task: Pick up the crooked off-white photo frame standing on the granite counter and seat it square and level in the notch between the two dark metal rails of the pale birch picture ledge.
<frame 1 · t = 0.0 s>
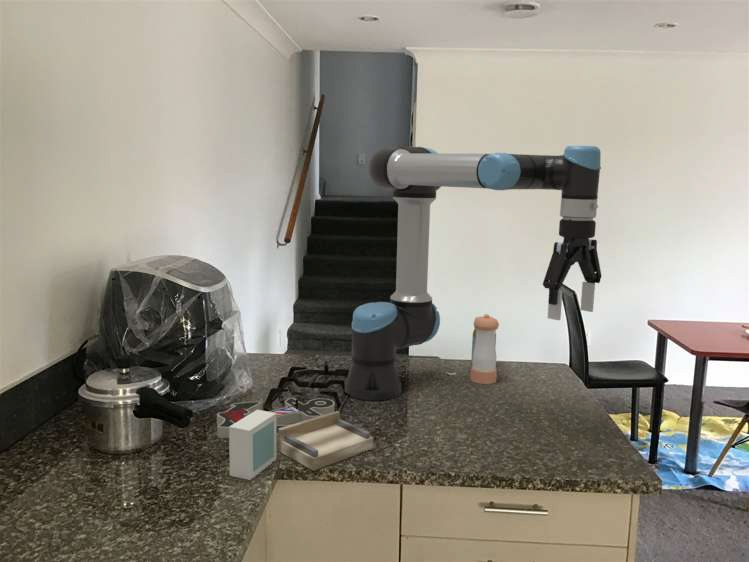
hand: (570, 315, 147), 28 cm above the worktop, fingers open, 13 cm apart
salt shaker: (483, 380, 190), on the worktop
decorative sign: (278, 425, 155), on the worktop
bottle: (482, 367, 202), on the worktop
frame: (253, 467, 132), on the worktop
ledge: (326, 450, 141), on the worktop
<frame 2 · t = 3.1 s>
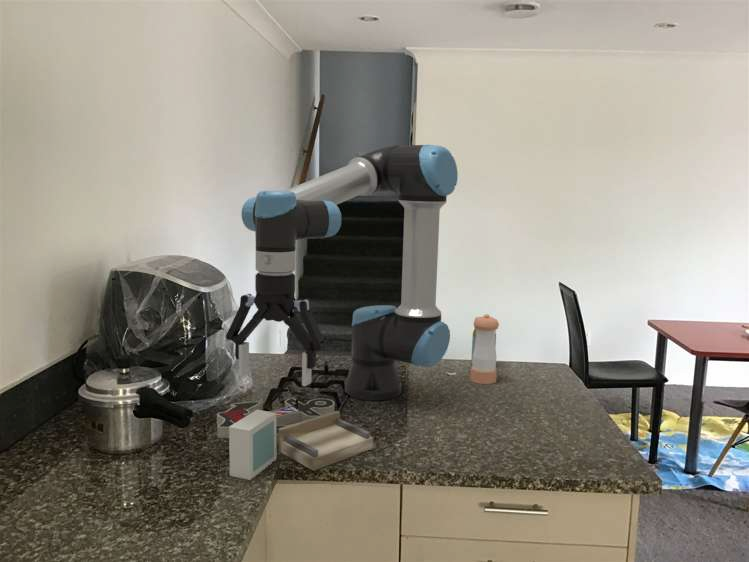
hand: (274, 379, 130), 18 cm above the worktop, fingers open, 13 cm apart
nothing on the worktop moved.
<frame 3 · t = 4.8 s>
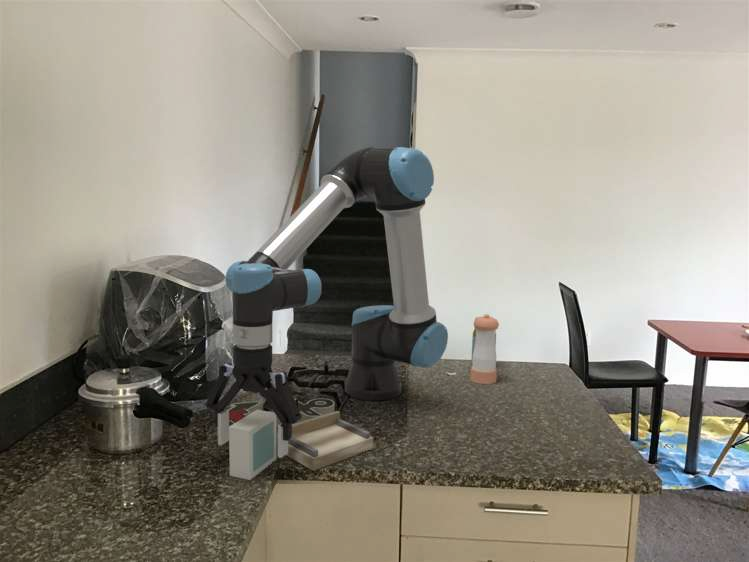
hand: (252, 448, 131), 4 cm above the worktop, fingers open, 13 cm apart
nothing on the worktop moved.
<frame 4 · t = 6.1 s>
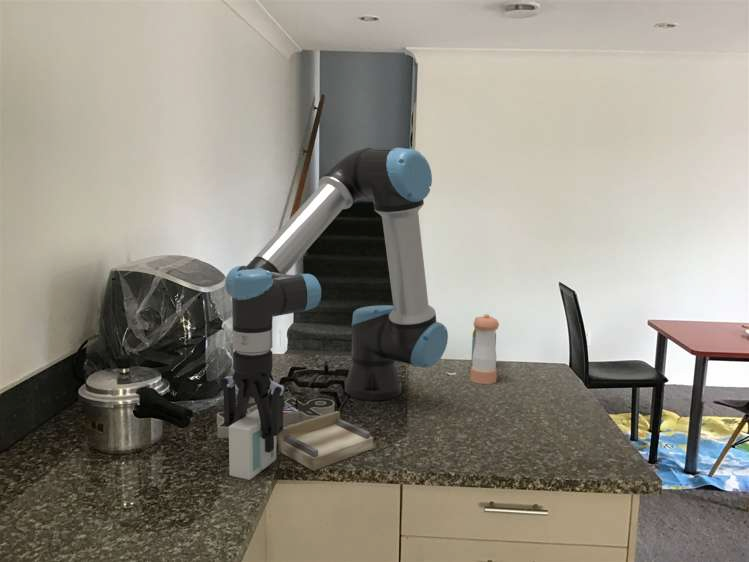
hand: (253, 463, 132), 1 cm above the worktop, fingers closed on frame, 5 cm apart
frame: (253, 467, 132), on the worktop, touching gripper
everything else where it was.
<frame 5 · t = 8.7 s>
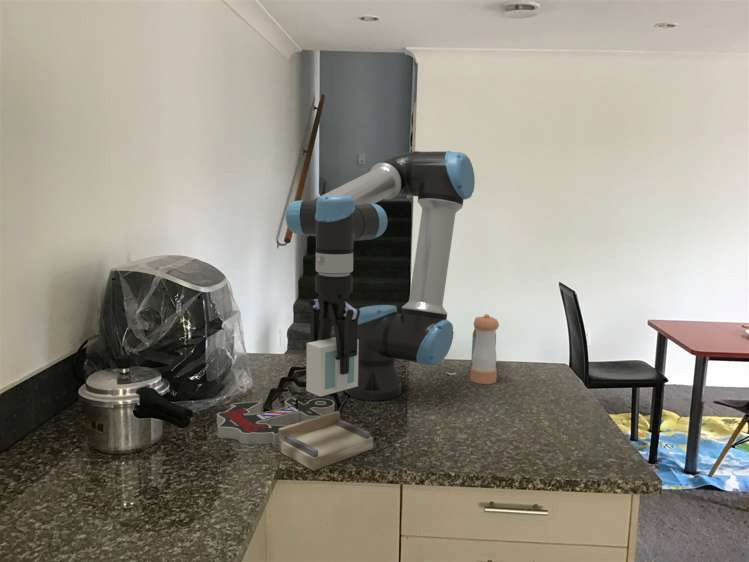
hand: (332, 384, 137), 15 cm above the worktop, fingers closed on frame, 5 cm apart
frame: (332, 388, 137), point 14 cm above the worktop, touching gripper
everything else where it was.
when the fingers open (5 cm above the worktop, at t = 11.1 s): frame drops 1 cm, resting on ledge.
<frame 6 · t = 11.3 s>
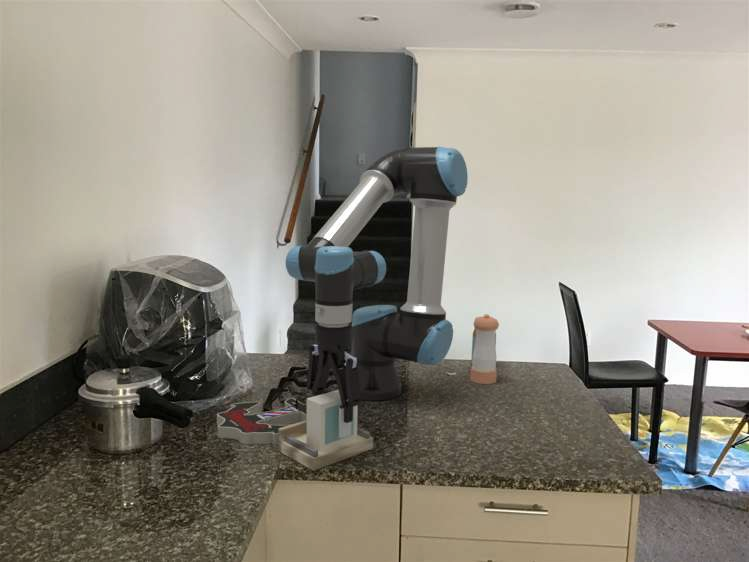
hand: (332, 430, 139), 5 cm above the worktop, fingers open, 7 cm apart
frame: (332, 441, 139), point 2 cm above the worktop, touching ledge
everything else where it was.
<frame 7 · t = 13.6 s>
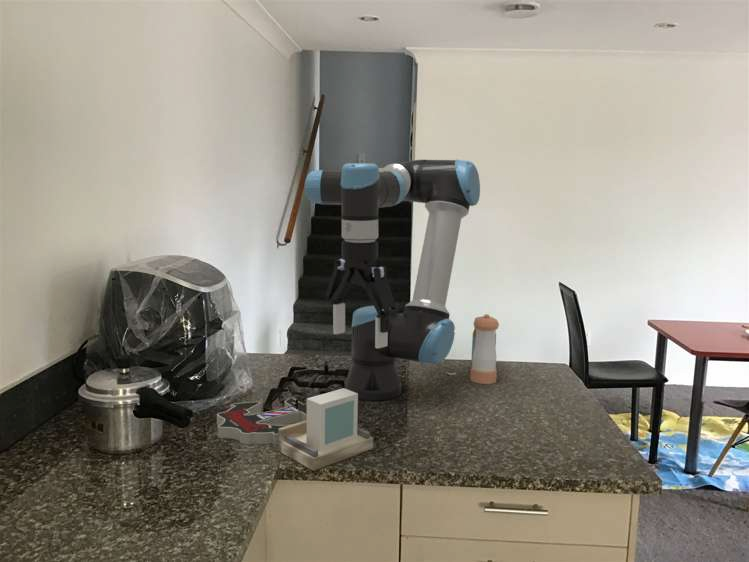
hand: (359, 339, 140), 23 cm above the worktop, fingers open, 13 cm apart
nothing on the worktop moved.
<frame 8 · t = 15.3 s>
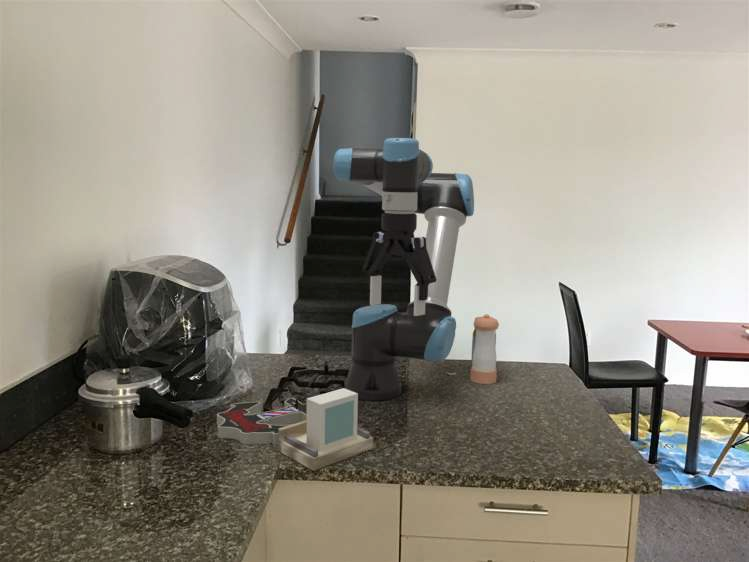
hand: (396, 309, 145), 29 cm above the worktop, fingers open, 13 cm apart
nothing on the worktop moved.
at the end: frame 0.1 cm from the target spot on the ledge, point 2.5 cm above the ledge's base; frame tilted 0°; the gripper is holding nothing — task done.
